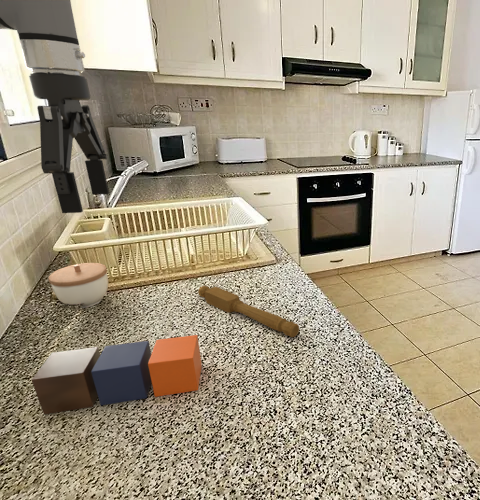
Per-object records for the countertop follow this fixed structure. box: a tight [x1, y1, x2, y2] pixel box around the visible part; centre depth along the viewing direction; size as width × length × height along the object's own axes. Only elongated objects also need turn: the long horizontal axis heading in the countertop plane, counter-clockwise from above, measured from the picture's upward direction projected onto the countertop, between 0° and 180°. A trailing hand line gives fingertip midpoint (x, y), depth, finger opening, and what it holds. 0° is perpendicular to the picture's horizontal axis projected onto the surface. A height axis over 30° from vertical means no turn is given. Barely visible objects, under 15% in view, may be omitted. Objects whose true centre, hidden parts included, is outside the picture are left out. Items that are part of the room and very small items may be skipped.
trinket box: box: [48, 262, 109, 309], centre depth 85 cm, size 11×11×9 cm
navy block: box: [91, 340, 152, 406], centre depth 60 cm, size 6×6×6 cm
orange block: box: [148, 334, 203, 398], centre depth 62 cm, size 6×6×6 cm
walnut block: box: [31, 346, 101, 415], centre depth 58 cm, size 6×6×6 cm
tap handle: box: [197, 285, 300, 338], centre depth 83 cm, size 3×3×30 cm
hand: (88, 202), depth 68 cm, fingers open, 13 cm apart
